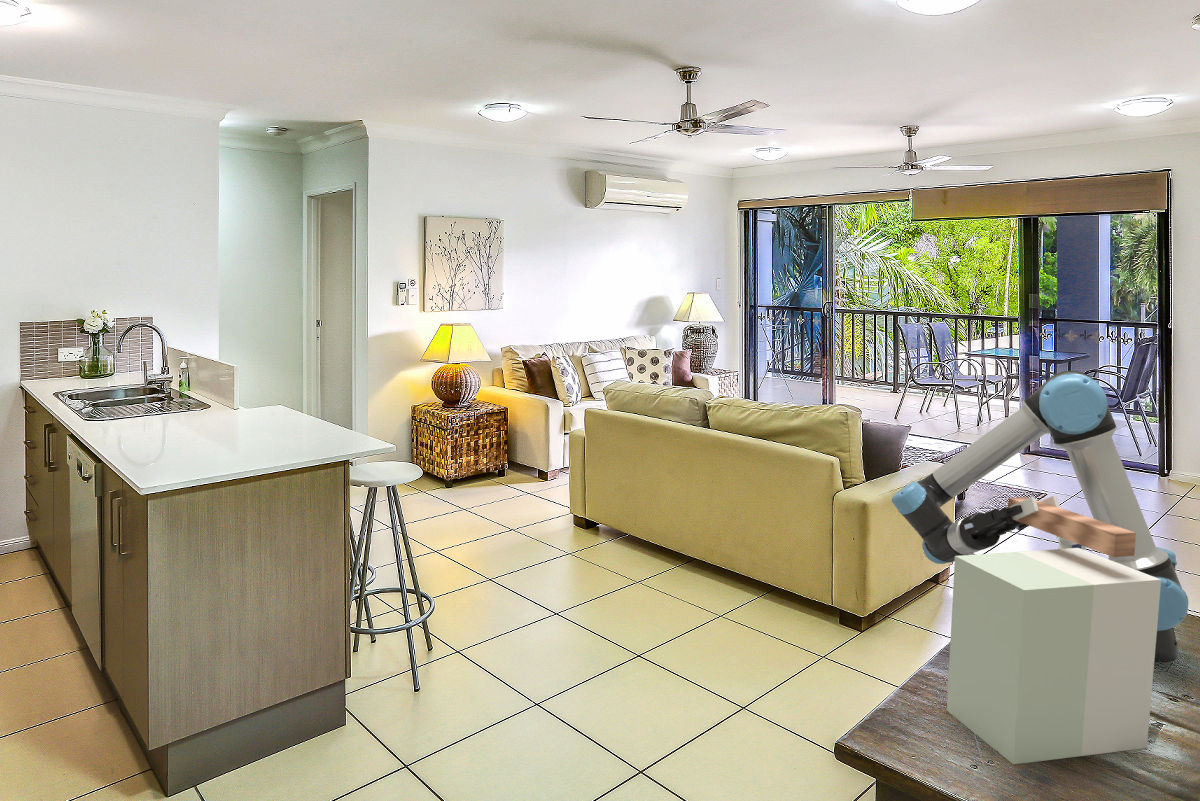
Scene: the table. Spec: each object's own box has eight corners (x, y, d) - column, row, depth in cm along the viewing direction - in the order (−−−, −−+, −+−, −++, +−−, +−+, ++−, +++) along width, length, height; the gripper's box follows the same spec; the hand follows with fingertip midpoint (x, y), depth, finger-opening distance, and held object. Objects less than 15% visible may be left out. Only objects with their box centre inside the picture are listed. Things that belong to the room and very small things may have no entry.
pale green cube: (946, 710, 149) (954, 556, 146) (1067, 697, 154) (1078, 547, 151) (1013, 764, 132) (1024, 590, 128) (1146, 748, 137) (1161, 579, 133)
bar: (1007, 517, 159) (1008, 497, 158) (1025, 516, 159) (1026, 496, 159) (1113, 557, 133) (1115, 534, 133) (1134, 555, 134) (1136, 532, 134)
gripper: (1014, 548, 172) (1091, 519, 151) (943, 553, 169) (1012, 524, 148) (1003, 514, 175) (1078, 482, 154) (933, 518, 172) (1000, 486, 151)
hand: (1045, 503), depth 151 cm, fingers closed on bar, 4 cm apart
